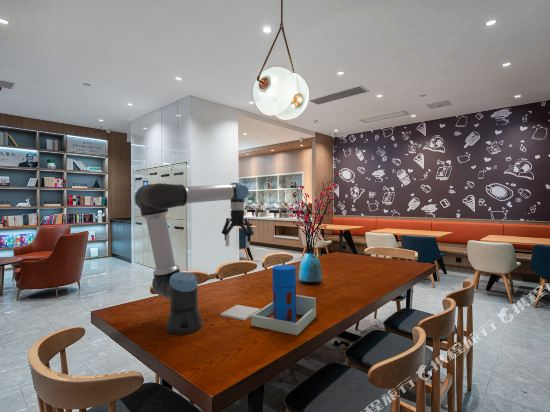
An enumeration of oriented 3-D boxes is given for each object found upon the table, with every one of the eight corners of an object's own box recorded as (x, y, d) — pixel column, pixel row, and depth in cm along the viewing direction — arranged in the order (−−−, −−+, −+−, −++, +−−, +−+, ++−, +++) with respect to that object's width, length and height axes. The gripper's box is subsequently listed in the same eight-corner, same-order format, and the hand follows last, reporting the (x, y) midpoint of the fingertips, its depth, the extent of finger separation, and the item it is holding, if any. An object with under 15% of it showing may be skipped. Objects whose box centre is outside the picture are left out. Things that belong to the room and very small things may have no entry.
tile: (244, 320, 139) (244, 318, 139) (220, 315, 145) (220, 313, 145) (259, 310, 151) (259, 308, 151) (237, 306, 158) (237, 304, 158)
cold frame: (297, 335, 123) (297, 313, 123) (251, 325, 133) (251, 305, 133) (316, 316, 143) (315, 297, 142) (274, 309, 153) (274, 291, 153)
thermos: (298, 317, 142) (297, 265, 141) (293, 326, 131) (293, 270, 131) (276, 315, 145) (275, 264, 144) (270, 324, 134) (269, 269, 134)
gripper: (259, 209, 169) (259, 247, 169) (223, 209, 179) (223, 244, 179) (252, 210, 162) (253, 249, 162) (215, 209, 172) (215, 246, 173)
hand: (237, 246), depth 171 cm, fingers open, 13 cm apart
